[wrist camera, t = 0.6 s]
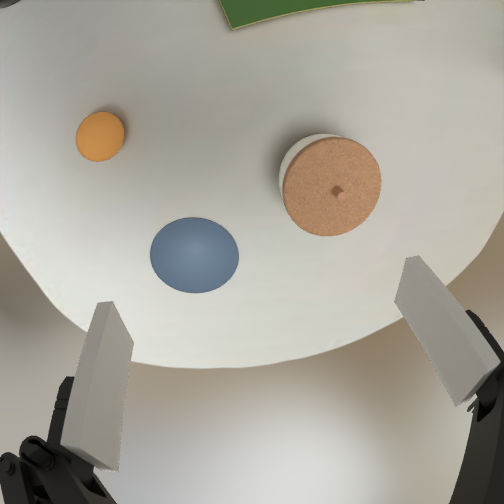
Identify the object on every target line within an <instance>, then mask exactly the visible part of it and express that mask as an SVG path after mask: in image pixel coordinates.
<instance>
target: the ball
mask: <svg viewBox="0 0 504 504" xmlns="http://www.w3.org/2000/svg"><path fill="white" fill-rule="evenodd" d="M123 141H124V127H123V125H122V123H121V121H120V120H119V118H118V117H116V116H115V115H114V114H111V113H109V112H96V113H93V114H91V115H89V116H88V117H86V118H85V119H84V120H83V121H82V123H81V124H80V126H79V128H78V130H77V134H76V144H77V148H78V150H79V152H80V153H81V154H82V155H83V156H84V157H85V158H87V159H88V160H91V161H96V162H100V161H105V160H107V159H110V158H111V157H113V156H114V155H115V154H116V153H117V152H118V151H119V150H120V148H121V146H122V144H123Z"/></svg>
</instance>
